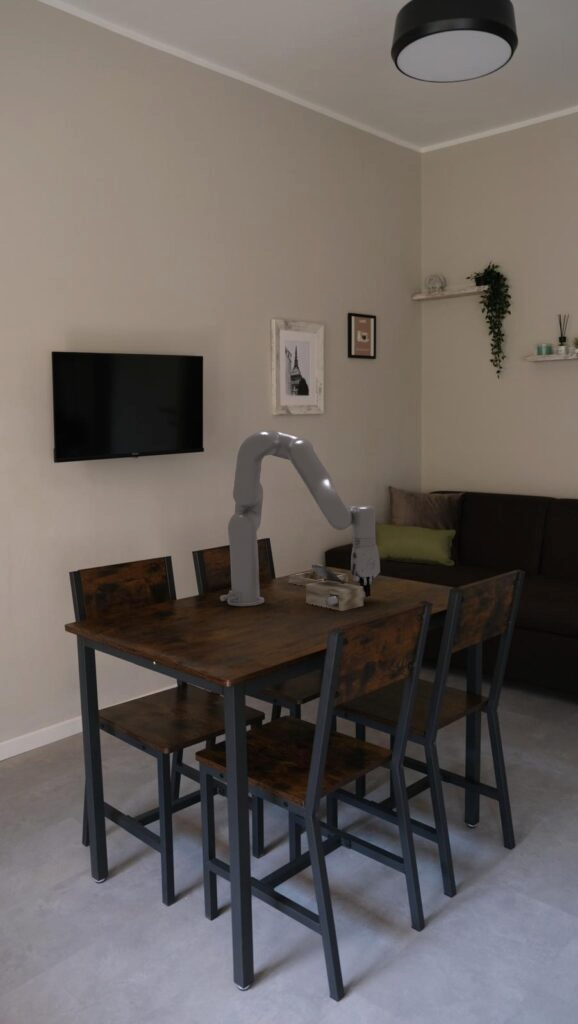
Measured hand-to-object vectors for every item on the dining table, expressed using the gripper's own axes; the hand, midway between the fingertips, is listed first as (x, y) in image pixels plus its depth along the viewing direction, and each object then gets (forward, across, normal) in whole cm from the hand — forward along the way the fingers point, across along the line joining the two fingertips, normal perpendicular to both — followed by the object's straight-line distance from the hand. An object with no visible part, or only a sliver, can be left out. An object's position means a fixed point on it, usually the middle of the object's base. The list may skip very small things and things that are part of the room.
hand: (365, 595), depth 281 cm
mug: (+2, +15, +35) cm, 38 cm away
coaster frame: (+2, +12, +36) cm, 38 cm away
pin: (+1, -10, 0) cm, 10 cm away
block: (+2, -10, +5) cm, 11 cm away
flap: (-8, -9, +9) cm, 15 cm away
